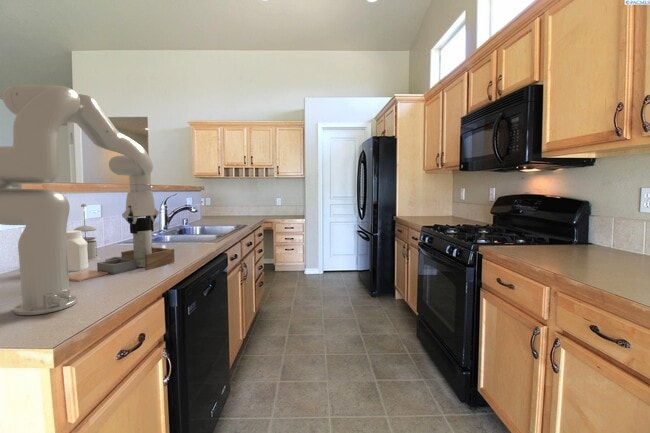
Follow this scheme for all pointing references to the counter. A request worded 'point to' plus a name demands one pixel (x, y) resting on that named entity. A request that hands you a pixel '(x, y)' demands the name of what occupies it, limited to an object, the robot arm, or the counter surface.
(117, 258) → the crook
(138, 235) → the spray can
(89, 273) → the pad
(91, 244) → the french press
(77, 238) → the jar
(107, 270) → the bin
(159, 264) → the cubby
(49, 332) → the counter surface
